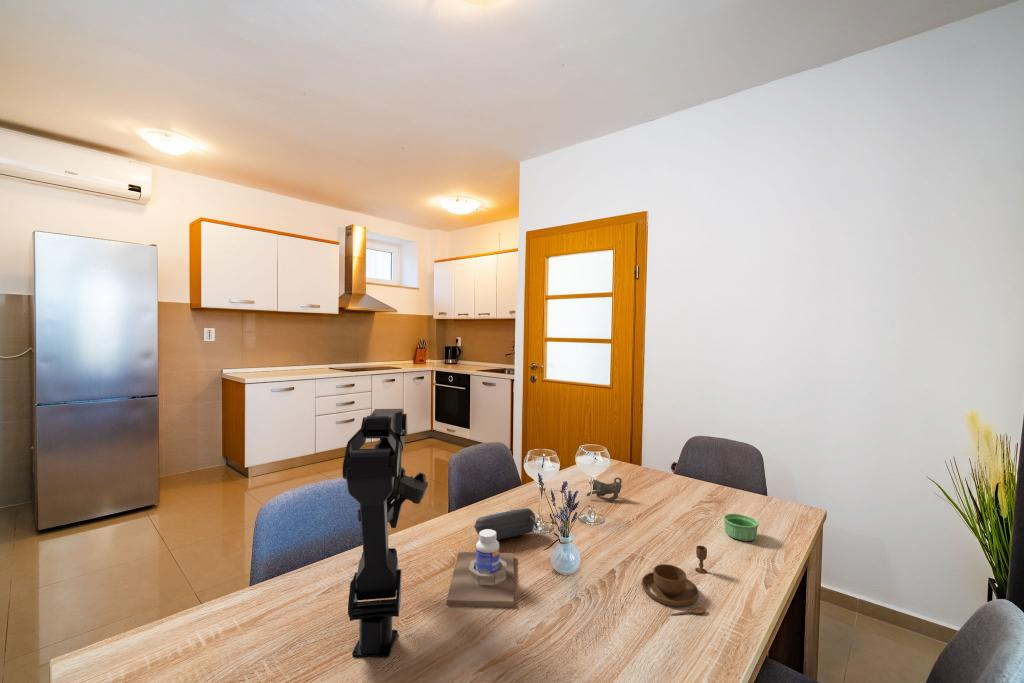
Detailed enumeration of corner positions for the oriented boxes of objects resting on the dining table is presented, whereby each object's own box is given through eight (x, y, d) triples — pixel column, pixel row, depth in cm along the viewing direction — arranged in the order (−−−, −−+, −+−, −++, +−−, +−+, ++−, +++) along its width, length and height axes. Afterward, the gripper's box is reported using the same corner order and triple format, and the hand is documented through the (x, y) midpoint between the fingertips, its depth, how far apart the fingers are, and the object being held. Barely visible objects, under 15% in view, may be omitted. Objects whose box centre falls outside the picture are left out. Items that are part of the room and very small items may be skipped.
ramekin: (727, 539, 124) (727, 524, 124) (720, 526, 133) (720, 511, 133) (762, 544, 122) (762, 528, 122) (752, 530, 130) (753, 515, 130)
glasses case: (525, 526, 130) (525, 500, 130) (543, 542, 121) (544, 513, 120) (468, 538, 122) (468, 510, 121) (483, 556, 112) (484, 526, 112)
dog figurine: (620, 496, 156) (620, 475, 156) (622, 502, 150) (622, 480, 150) (586, 493, 157) (586, 473, 157) (586, 499, 152) (587, 478, 152)
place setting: (626, 574, 106) (627, 549, 106) (701, 567, 110) (701, 543, 110) (665, 620, 89) (665, 592, 89) (751, 610, 93) (752, 583, 93)
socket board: (513, 607, 92) (513, 592, 92) (446, 605, 92) (446, 590, 92) (513, 557, 112) (513, 545, 112) (458, 556, 112) (458, 544, 112)
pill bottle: (495, 582, 98) (496, 539, 98) (472, 579, 99) (473, 536, 99) (501, 569, 104) (502, 529, 103) (479, 566, 105) (480, 526, 104)
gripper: (412, 481, 86) (411, 560, 86) (434, 455, 105) (433, 520, 105) (356, 479, 87) (356, 558, 87) (388, 454, 105) (387, 518, 106)
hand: (387, 537), depth 96 cm, fingers open, 9 cm apart
